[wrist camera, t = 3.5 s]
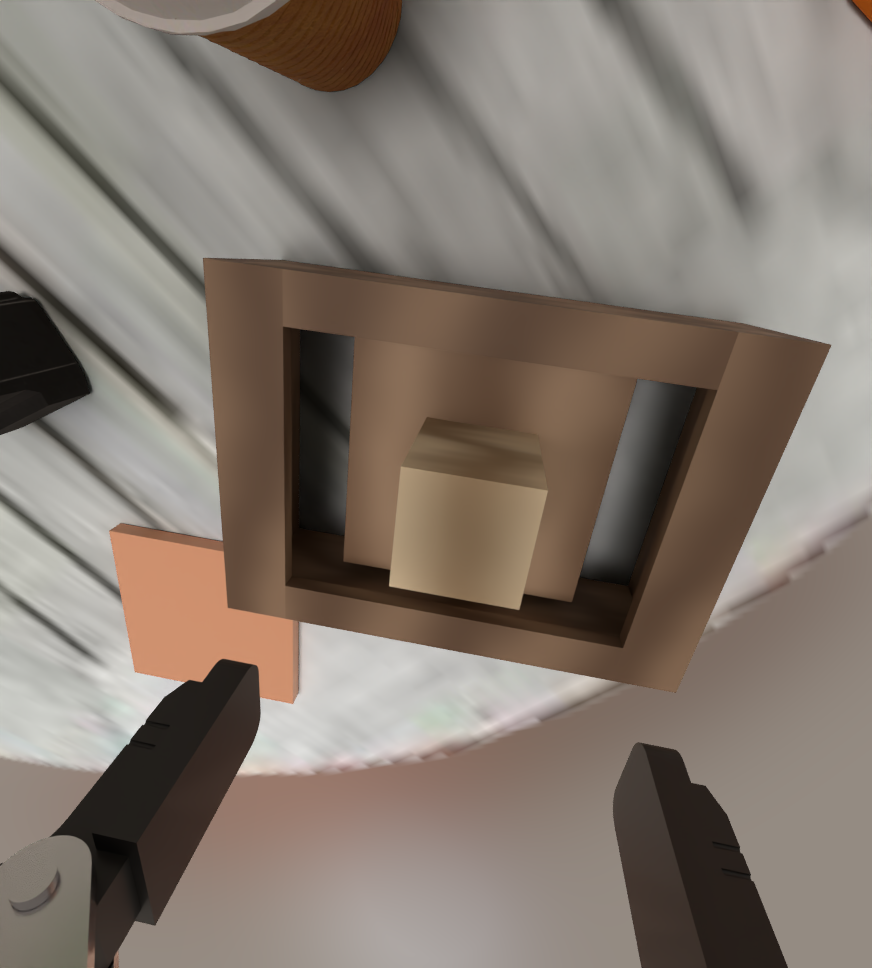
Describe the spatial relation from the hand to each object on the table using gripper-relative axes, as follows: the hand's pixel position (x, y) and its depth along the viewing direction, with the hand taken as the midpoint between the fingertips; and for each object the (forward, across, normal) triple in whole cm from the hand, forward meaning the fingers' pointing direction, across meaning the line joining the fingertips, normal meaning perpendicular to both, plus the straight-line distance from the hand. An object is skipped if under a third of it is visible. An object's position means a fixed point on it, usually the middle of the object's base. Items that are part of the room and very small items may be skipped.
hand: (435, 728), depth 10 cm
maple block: (+14, 0, 0) cm, 14 cm away
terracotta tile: (+18, +16, +15) cm, 28 cm away
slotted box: (+18, 0, 0) cm, 18 cm away
